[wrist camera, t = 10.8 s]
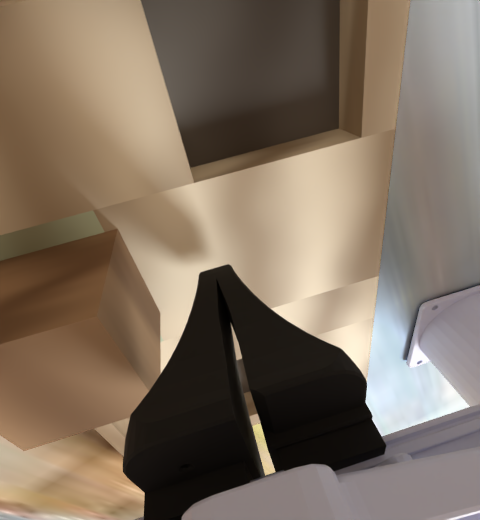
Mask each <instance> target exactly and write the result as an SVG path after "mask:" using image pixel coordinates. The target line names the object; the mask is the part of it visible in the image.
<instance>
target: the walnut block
mask: <svg viewBox="0 0 480 520" xmlns="http://www.w3.org/2000/svg"><path fill="white" fill-rule="evenodd" d="M160 374H161V349H160V311H159V309H158V307H157V305H156V303H155V301H154V299H153V297H152V295H151V293H150V291H149V289H148V287H147V285H146V283H145V281H144V279H143V278H142V276H141V274H140V272H139V270H138V268H137V266H136V264H135V262H134V260H133V258H132V256H131V254H130V252H129V250H128V248H127V246H126V244H125V242H124V240H123V238H122V236H121V234H120V232H119V230H118V229H114V230H111V231H107V232H104V233H100V234H96V235H93V236H89V237H85V238H82V239H78V240H74V241H71V242H67V243H64V244H60V245H56V246H53V247H49V248H45V249H42V250H38V251H34V252H31V253H27V254H23V255H20V256H16V257H13V258H9V259H5V260H2V261H0V435H1V436H2V437H4V438H5V439H7V440H8V441H10V442H11V443H13V444H14V445H16V446H17V447H19V448H20V449H22V450H23V451H25V450H29V449H32V448H35V447H38V446H41V445H44V444H47V443H51V442H54V441H57V440H60V439H63V438H66V437H70V436H73V435H76V434H79V433H82V432H85V431H89V430H92V429H95V428H98V427H101V426H104V425H108V424H111V423H114V422H117V421H120V420H123V419H126V418H130V416H131V414H132V412H133V411H134V410H135V409H136V407H137V406H138V405H139V404H140V402H141V401H142V400H143V398H144V397H145V396H146V395H147V393H148V392H149V391H150V389H151V388H152V386H153V385H154V383H155V382H156V380H157V379H158V377H159V376H160Z"/></svg>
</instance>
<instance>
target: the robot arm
mask: <svg viewBox="0 0 480 520" xmlns="http://www.w3.org/2000/svg"><path fill="white" fill-rule="evenodd" d="M231 325H232V327H233V330H234V332H235V335H236V338H237V340H238V343H239V347H240V351H241V355H242V360H243V364H244V368H245V372H246V376H247V381H248V385H249V389H250V392H251V395H252V398H253V401H254V404H255V407H256V410H257V413H258V417H259V420H260V423H261V426H262V429H263V433H264V436H265V440H266V444H267V448H268V451H269V453H270V456H271V459H272V462H273V465H274V468H275V471H276V472H275V473H272V474H269V475H266V476H265V474H264V470H263V466H262V462H261V459H260V455H259V451H258V447H257V443H256V440H255V436H254V432H253V428H252V424H251V420H250V416H249V412H248V409H247V405H246V401H245V397H244V393H243V389H242V385H241V381H240V377H239V372H238V366H237V360H236V353H235V347H234V340H233V334H232V327H231ZM428 362H432V364H433V365H434V366H435V367H436V368H437V369H438V370H439V372H440V373H441V374H442V375H443V376H444V377H445V378H446V380H447V381H448V382H449V383H450V384H451V385H452V386H453V388H454V389H455V390H456V391H457V392H458V393H459V394H460V396H461V397H462V398H463V399H464V400H465V401H466V402H467V404H468V405H469V406H470V407H469V408H466V409H463V410H460V411H457V412H454V413H451V414H448V415H445V416H442V417H439V418H436V419H433V420H430V421H427V422H424V423H421V424H418V425H415V426H412V427H409V428H406V429H403V430H400V431H397V432H394V433H391V434H388V435H385V436H382V437H381V435H380V433H379V431H378V430H377V428H376V426H375V424H374V423H373V421H372V414H371V412H370V410H369V408H368V407H367V405H366V403H365V400H366V390H367V382H366V379H365V377H364V375H363V374H362V372H361V371H360V369H359V368H358V367H357V365H356V364H355V363H354V362H353V361H352V359H351V358H350V357H349V356H348V355H347V354H346V353H345V352H344V351H343V350H342V349H341V348H339V347H337V346H334V345H332V344H330V343H327V342H325V341H323V340H321V339H319V338H317V337H315V336H313V335H311V334H309V333H307V332H305V331H304V330H302V329H300V328H299V327H297V326H295V325H293V324H292V323H290V322H288V321H287V320H286V319H284V318H283V317H281V316H280V315H278V314H277V313H276V312H274V311H273V310H272V309H270V308H269V307H268V306H267V305H266V304H264V303H263V302H262V301H261V300H260V299H259V298H258V297H257V296H256V295H255V294H254V293H253V292H252V291H251V290H250V289H249V288H248V287H247V286H246V285H245V284H244V283H243V282H242V280H241V279H240V278H239V277H238V275H237V274H236V273H235V271H234V270H233V268H232V266H231V265H229V264H227V265H223V266H220V267H216V268H213V269H210V270H206V271H203V272H200V274H199V278H198V285H197V290H196V295H195V298H194V302H193V306H192V309H191V312H190V315H189V318H188V321H187V324H186V326H185V329H184V331H183V333H182V336H181V338H180V340H179V342H178V344H177V346H176V348H175V350H174V352H173V354H172V356H171V358H170V359H169V361H168V363H167V365H166V366H165V368H164V369H163V371H162V373H161V374H160V376H159V377H158V379H157V380H156V382H155V383H154V385H153V386H152V388H151V389H150V391H149V392H148V393H147V395H146V396H145V397H144V398H143V400H142V401H141V402H140V404H139V405H138V406H137V407H136V409H135V410H134V411H133V412H132V414H131V416H130V420H129V424H128V429H127V433H126V438H125V446H124V457H123V472H124V474H125V475H126V476H127V478H129V479H130V480H131V481H132V482H133V483H134V484H135V485H137V486H138V487H139V488H140V489H141V490H142V491H144V492H145V501H144V517H141V518H138V519H135V520H480V285H479V286H475V287H472V288H469V289H466V290H463V291H459V292H456V293H453V294H450V295H447V296H443V297H440V298H437V299H434V300H430V301H427V302H425V303H423V304H422V305H421V306H420V308H419V313H418V317H417V321H416V325H415V329H414V333H413V337H412V342H411V346H410V350H409V354H408V358H407V362H406V363H407V365H408V366H409V367H415V366H418V365H421V364H424V363H428Z"/></svg>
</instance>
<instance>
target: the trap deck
mask: <svg viewBox="0 0 480 520" xmlns="http://www.w3.org/2000/svg"><path fill="white" fill-rule="evenodd" d="M409 8H410V0H0V261H2V260H5V259H9V258H13V257H16V256H20V255H23V254H27V253H31V252H34V251H38V250H42V249H45V248H49V247H53V246H56V245H60V244H64V243H67V242H71V241H74V240H78V239H82V238H85V237H89V236H93V235H96V234H100V233H104V232H107V231H111V230H114V229H118V230H119V232H120V234H121V236H122V238H123V240H124V242H125V244H126V246H127V248H128V250H129V252H130V254H131V256H132V258H133V260H134V262H135V264H136V266H137V268H138V270H139V272H140V274H141V276H142V278H143V279H144V281H145V283H146V285H147V287H148V289H149V291H150V293H151V295H152V297H153V299H154V301H155V303H156V305H157V307H158V309H159V311H160V349H161V373H162V371H163V369H164V368H165V366H166V365H167V363H168V361H169V359H170V358H171V356H172V354H173V352H174V350H175V348H176V346H177V344H178V342H179V340H180V338H181V336H182V333H183V331H184V329H185V326H186V324H187V321H188V318H189V315H190V312H191V309H192V306H193V302H194V298H195V295H196V290H197V285H198V278H199V274H200V272H203V271H206V270H210V269H213V268H216V267H220V266H223V265H227V264H229V265H231V266H232V268H233V270H234V271H235V273H236V274H237V275H238V277H239V278H240V279H241V280H242V282H243V283H244V284H245V285H246V286H247V287H248V288H249V289H250V290H251V291H252V292H253V293H254V294H255V295H256V296H257V297H258V298H259V299H260V300H261V301H262V302H263V303H264V304H266V305H267V306H268V307H269V308H270V309H272V310H273V311H274V312H276V313H277V314H278V315H280V316H281V317H283V318H284V319H286V320H287V321H288V322H290V323H292V324H293V325H295V326H297V327H299V328H300V329H302V330H304V331H305V332H307V333H309V334H311V335H313V336H315V337H317V338H319V339H321V340H323V341H325V342H327V343H330V344H332V345H334V346H337V347H339V348H341V349H342V350H343V351H344V352H345V353H346V354H347V355H348V356H349V357H350V358H351V359H352V361H353V362H354V363H355V364H356V365H357V367H358V368H359V369H360V371H361V372H362V374H363V375H364V377H365V379H366V382H367V375H368V366H369V357H370V349H371V340H372V331H373V322H374V314H375V305H376V296H377V287H378V279H379V270H380V261H381V252H382V244H383V235H384V226H385V218H386V209H387V200H388V191H389V183H390V174H391V165H392V156H393V148H394V139H395V130H396V121H397V113H398V104H399V95H400V86H401V78H402V69H403V60H404V51H405V43H406V34H407V25H408V16H409ZM231 327H232V325H231ZM232 334H233V340H234V347H235V353H236V360H237V366H238V372H239V377H240V381H241V385H242V389H243V393H244V397H245V401H246V405H247V409H248V412H249V416H250V420H251V424H252V426H253V425H256V424H259V423H260V420H259V417H258V413H257V410H256V407H255V404H254V401H253V398H252V395H251V392H250V389H249V385H248V381H247V376H246V372H245V368H244V364H243V360H242V355H241V351H240V347H239V343H238V340H237V338H236V335H235V332H234V330H233V327H232ZM129 420H130V418H126V419H123V420H120V421H117V422H114V423H111V424H108V425H104V426H101V427H98V428H95V430H96V431H97V432H98V433H99V434H100V435H101V436H102V437H103V438H104V439H106V440H107V441H108V442H109V443H110V444H111V445H112V446H113V447H114V448H115V449H116V450H117V451H118V452H119V453H120V454H121V455H122V456H123V457H124V446H125V438H126V433H127V429H128V424H129Z"/></svg>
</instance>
